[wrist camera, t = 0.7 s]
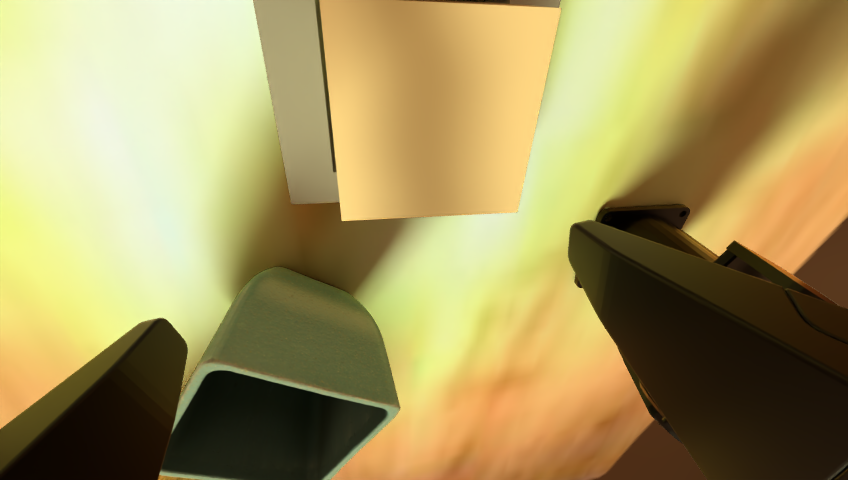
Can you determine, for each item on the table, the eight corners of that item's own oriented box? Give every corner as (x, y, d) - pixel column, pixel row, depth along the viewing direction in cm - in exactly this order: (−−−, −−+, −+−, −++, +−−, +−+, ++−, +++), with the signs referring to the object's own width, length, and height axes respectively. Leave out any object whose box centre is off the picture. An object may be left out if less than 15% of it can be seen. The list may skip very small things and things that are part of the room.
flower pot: (201, 326, 23) (134, 477, 16) (255, 226, 20) (201, 360, 13) (326, 360, 27) (317, 494, 20) (388, 281, 24) (405, 408, 17)
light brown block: (496, 2, 13) (561, 8, 9) (476, 158, 17) (517, 212, 13) (328, -6, 12) (318, -4, 8) (343, 161, 16) (341, 221, 12)
